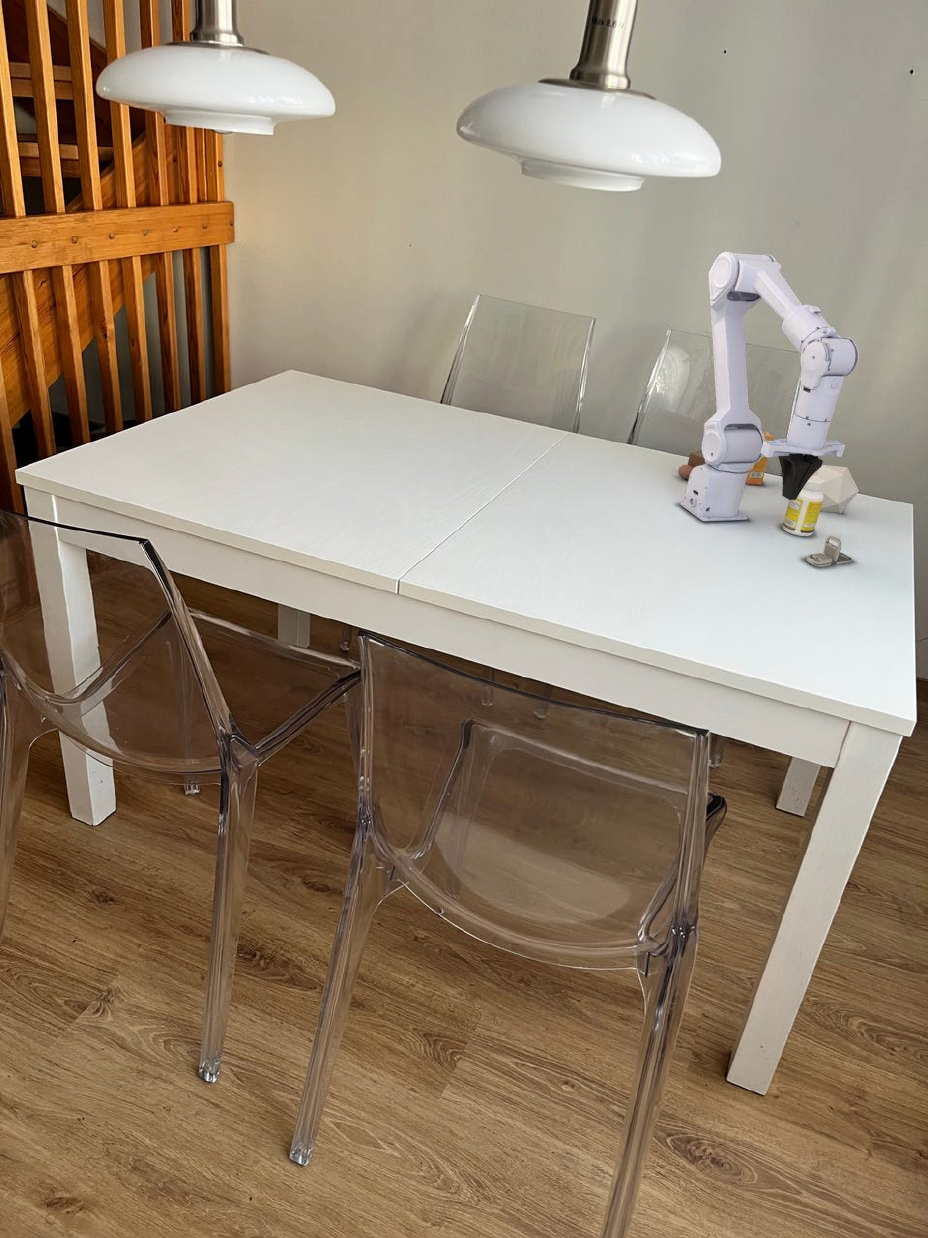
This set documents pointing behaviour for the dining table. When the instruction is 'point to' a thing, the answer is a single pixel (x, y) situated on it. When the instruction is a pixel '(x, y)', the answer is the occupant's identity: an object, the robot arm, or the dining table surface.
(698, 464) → the walnut block
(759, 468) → the supplement box
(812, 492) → the supplement bottle
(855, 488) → the die
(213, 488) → the dining table surface
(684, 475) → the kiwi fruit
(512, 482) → the dining table surface
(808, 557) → the strap clip
